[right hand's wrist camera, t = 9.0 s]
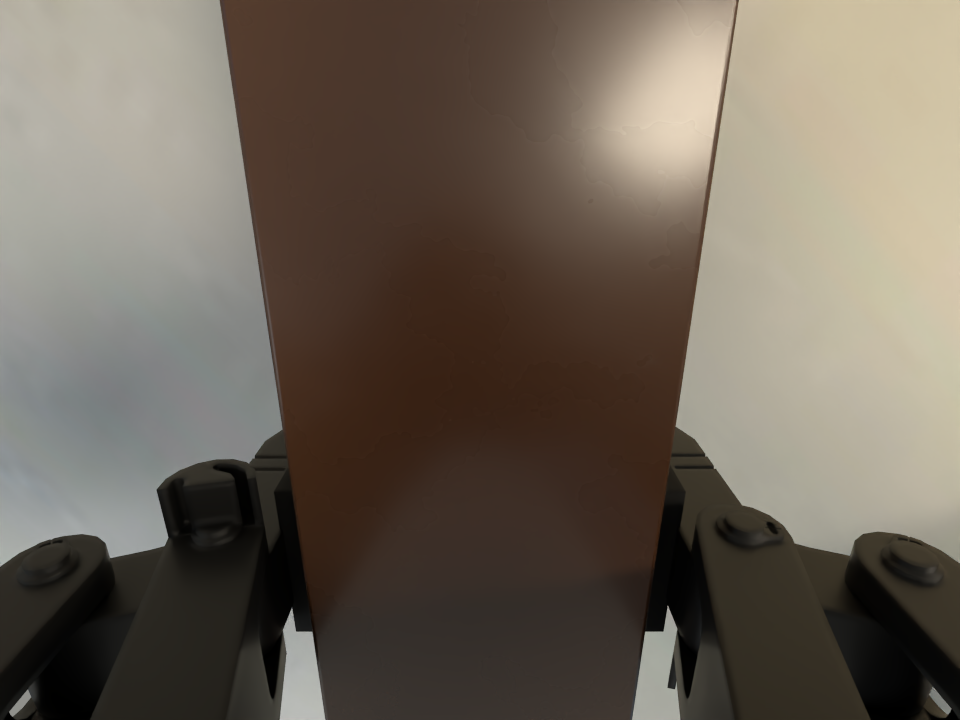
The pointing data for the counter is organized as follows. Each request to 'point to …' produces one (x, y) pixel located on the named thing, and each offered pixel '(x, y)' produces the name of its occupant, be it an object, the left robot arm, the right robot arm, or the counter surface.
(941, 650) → the right robot arm
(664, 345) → the walnut beam
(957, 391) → the counter surface
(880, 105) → the counter surface
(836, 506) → the counter surface
